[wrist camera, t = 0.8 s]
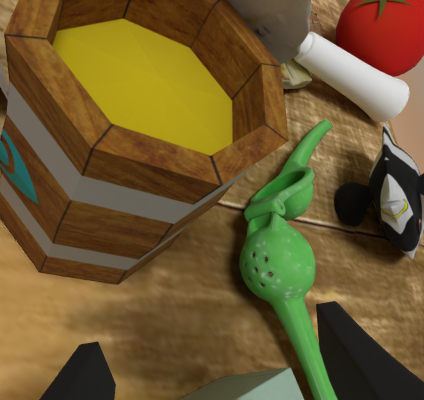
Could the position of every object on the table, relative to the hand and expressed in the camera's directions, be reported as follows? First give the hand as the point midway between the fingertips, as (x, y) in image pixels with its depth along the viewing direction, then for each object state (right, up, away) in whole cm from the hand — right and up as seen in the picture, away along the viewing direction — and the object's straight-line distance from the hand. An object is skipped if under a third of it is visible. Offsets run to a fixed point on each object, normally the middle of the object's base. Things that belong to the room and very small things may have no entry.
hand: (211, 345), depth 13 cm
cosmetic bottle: (+24, +18, +40) cm, 50 cm away
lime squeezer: (+7, +1, +23) cm, 24 cm away
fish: (+17, +12, +27) cm, 34 cm away
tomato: (+25, +26, +47) cm, 59 cm away
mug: (-10, +8, +17) cm, 21 cm away
